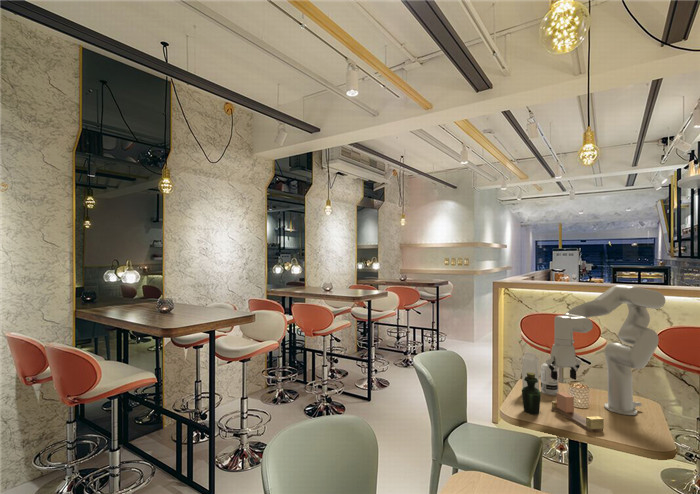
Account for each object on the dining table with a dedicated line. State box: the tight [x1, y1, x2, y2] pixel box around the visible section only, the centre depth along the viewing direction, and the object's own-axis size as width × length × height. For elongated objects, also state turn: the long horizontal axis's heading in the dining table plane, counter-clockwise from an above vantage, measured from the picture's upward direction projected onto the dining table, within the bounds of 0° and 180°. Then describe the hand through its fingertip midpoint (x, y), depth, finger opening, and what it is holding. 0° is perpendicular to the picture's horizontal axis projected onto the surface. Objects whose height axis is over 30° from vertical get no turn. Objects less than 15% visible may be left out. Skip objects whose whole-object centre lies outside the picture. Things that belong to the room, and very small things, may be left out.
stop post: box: [585, 415, 605, 430], centre depth 148 cm, size 6×2×4 cm, turn 97°
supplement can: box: [540, 362, 559, 396], centre depth 190 cm, size 8×8×15 cm
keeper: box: [556, 391, 575, 413], centre depth 165 cm, size 4×6×7 cm, turn 7°
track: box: [551, 400, 604, 433], centre depth 159 cm, size 6×23×4 cm, turn 7°
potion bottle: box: [521, 372, 542, 416], centre depth 166 cm, size 8×8×18 cm
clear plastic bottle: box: [521, 351, 540, 390], centre depth 189 cm, size 6×6×22 cm
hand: (563, 378), depth 166 cm, fingers open, 9 cm apart
